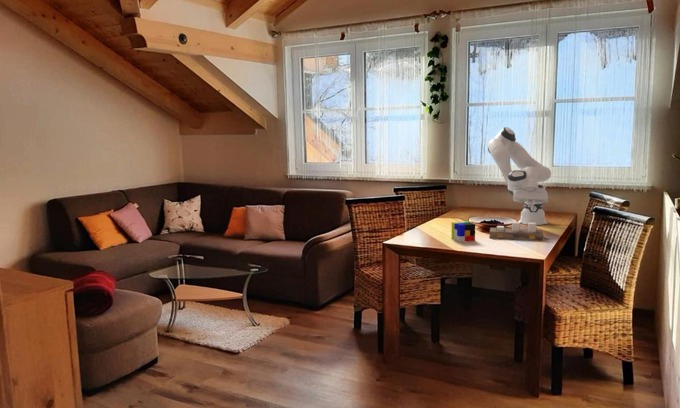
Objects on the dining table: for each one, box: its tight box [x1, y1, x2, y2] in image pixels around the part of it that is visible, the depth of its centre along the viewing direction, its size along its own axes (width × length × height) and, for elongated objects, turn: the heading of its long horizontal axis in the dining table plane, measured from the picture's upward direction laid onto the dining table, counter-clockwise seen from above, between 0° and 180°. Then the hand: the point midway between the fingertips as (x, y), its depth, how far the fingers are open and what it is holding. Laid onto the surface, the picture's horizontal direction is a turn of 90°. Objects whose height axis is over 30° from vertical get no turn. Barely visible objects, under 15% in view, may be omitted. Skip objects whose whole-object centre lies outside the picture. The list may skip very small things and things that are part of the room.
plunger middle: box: [511, 221, 521, 232], centre depth 309 cm, size 4×4×6 cm
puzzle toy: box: [451, 220, 476, 243], centre depth 305 cm, size 10×10×10 cm
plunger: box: [527, 222, 537, 232], centre depth 307 cm, size 4×4×6 cm
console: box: [489, 227, 544, 242], centre depth 310 cm, size 12×30×4 cm, turn 73°
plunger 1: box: [496, 225, 505, 231], centre depth 312 cm, size 4×4×6 cm
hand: (530, 206), depth 316 cm, fingers closed
